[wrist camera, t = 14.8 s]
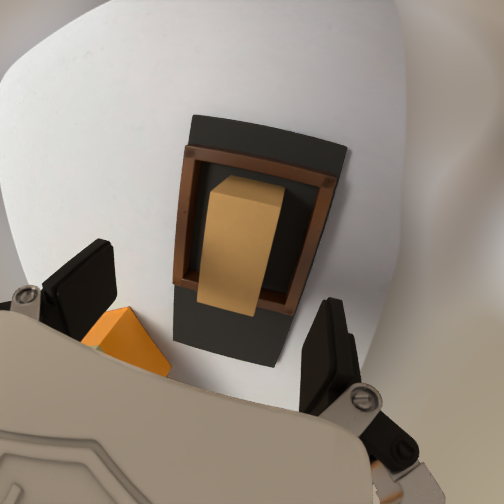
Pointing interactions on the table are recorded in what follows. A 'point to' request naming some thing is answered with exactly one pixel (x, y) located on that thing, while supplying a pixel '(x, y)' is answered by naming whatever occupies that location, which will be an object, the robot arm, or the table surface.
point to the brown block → (238, 243)
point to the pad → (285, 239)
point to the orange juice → (126, 341)
